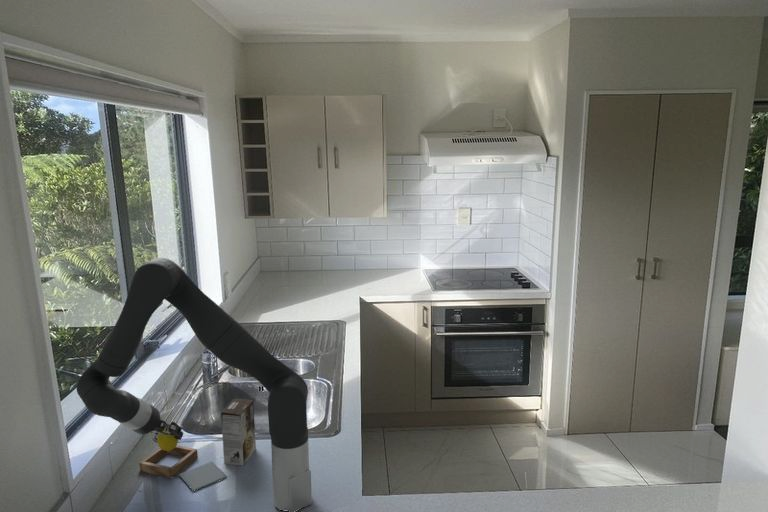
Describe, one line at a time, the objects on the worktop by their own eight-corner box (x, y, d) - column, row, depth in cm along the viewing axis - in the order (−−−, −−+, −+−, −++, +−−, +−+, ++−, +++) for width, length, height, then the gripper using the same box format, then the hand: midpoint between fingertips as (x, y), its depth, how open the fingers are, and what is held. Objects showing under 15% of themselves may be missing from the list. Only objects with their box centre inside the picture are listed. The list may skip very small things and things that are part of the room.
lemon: (161, 459, 150) (159, 432, 148) (156, 450, 154) (154, 424, 153) (181, 452, 153) (179, 426, 151) (176, 444, 157) (174, 419, 156)
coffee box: (236, 447, 163) (233, 397, 160) (256, 449, 162) (254, 399, 159) (223, 463, 154) (219, 411, 151) (244, 466, 153) (241, 413, 150)
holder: (197, 456, 158) (197, 449, 158) (172, 478, 148) (171, 469, 147) (166, 450, 161) (166, 443, 161) (139, 470, 151) (139, 462, 151)
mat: (227, 477, 148) (227, 475, 148) (193, 491, 142) (193, 490, 142) (212, 462, 155) (211, 461, 155) (178, 475, 149) (178, 474, 149)
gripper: (166, 404, 141) (198, 425, 154) (122, 398, 145) (157, 418, 159) (154, 433, 137) (188, 451, 150) (109, 425, 141) (145, 444, 155)
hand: (171, 434), depth 154 cm, fingers closed on lemon, 5 cm apart
